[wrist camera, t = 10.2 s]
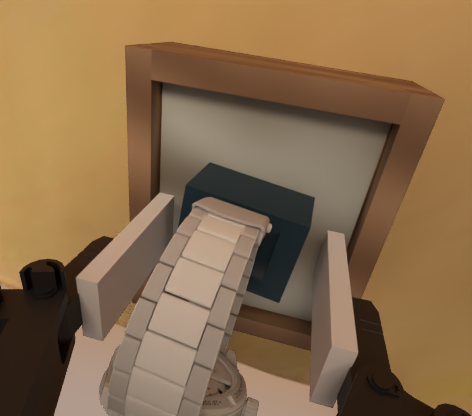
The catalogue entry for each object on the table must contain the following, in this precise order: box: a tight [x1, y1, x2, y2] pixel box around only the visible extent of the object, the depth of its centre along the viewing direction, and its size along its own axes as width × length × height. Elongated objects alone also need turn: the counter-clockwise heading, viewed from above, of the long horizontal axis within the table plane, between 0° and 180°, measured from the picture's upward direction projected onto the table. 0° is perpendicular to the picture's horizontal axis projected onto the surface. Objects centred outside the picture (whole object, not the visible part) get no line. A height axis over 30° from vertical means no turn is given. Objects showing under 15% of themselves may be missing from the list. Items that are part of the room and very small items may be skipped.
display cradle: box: [125, 42, 445, 351], centre depth 19 cm, size 15×13×5 cm
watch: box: [99, 162, 315, 416], centre depth 13 cm, size 6×8×11 cm
